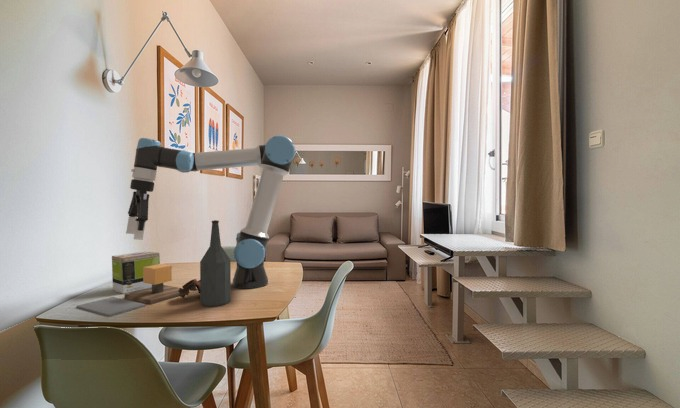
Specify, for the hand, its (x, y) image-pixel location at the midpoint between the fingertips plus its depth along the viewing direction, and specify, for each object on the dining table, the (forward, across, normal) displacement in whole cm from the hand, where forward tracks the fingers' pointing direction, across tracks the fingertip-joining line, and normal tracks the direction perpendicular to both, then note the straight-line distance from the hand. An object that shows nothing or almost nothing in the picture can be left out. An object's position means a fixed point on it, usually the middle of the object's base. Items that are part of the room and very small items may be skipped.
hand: (134, 236), depth 126 cm
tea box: (+24, -16, +8) cm, 30 cm away
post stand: (+22, +1, +11) cm, 25 cm away
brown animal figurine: (+20, +14, +21) cm, 32 cm away
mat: (+24, +5, -4) cm, 25 cm away
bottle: (+19, +25, +24) cm, 40 cm away
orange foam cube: (+17, +1, +10) cm, 20 cm away
